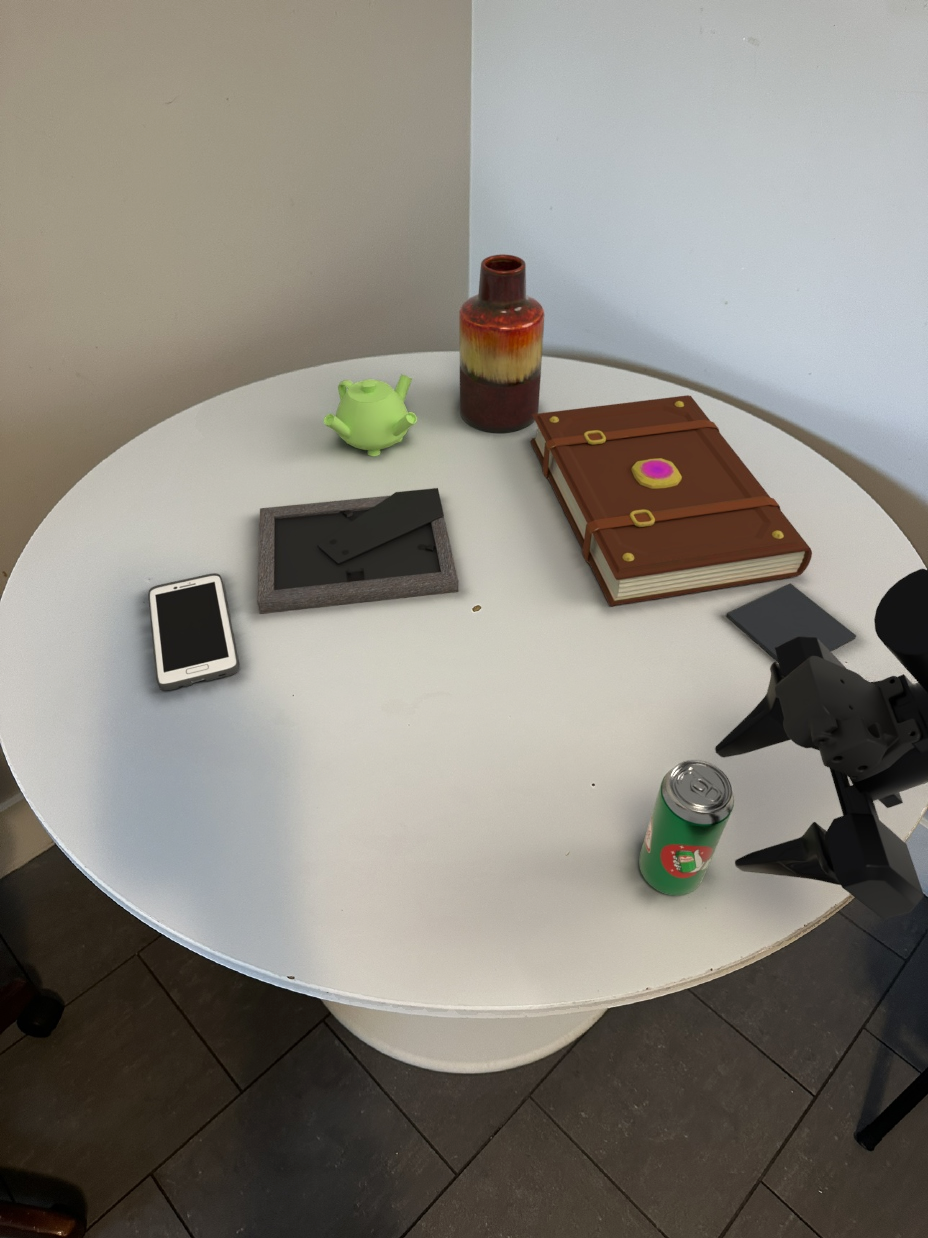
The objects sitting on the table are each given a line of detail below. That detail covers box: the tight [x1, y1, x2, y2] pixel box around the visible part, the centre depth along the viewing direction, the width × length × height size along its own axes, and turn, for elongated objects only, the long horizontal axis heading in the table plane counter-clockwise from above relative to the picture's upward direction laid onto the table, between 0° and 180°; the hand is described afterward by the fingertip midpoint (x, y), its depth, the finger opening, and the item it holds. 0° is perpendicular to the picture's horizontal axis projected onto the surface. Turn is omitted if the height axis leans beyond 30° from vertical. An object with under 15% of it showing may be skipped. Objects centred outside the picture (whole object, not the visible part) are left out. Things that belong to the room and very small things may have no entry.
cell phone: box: [147, 572, 240, 691], centre depth 83 cm, size 8×15×1 cm, turn 19°
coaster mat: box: [726, 582, 857, 662], centre depth 83 cm, size 9×9×1 cm
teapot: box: [323, 373, 418, 457], centre depth 105 cm, size 11×12×8 cm
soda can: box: [638, 759, 735, 897], centre depth 61 cm, size 5×5×12 cm
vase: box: [458, 253, 546, 434], centre depth 105 cm, size 11×11×20 cm
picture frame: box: [256, 487, 459, 615], centre depth 91 cm, size 16×2×21 cm
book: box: [529, 394, 813, 607], centre depth 96 cm, size 23×32×5 cm
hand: (727, 806), depth 58 cm, fingers open, 9 cm apart
